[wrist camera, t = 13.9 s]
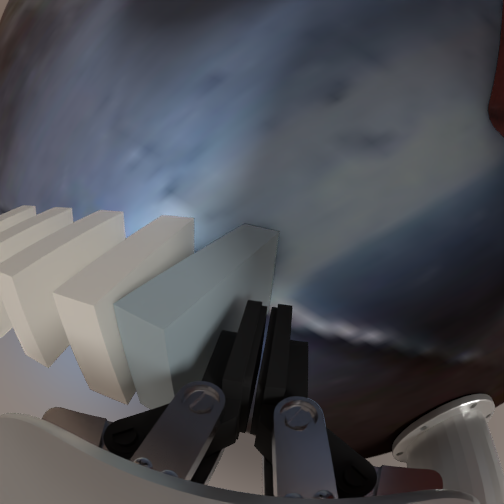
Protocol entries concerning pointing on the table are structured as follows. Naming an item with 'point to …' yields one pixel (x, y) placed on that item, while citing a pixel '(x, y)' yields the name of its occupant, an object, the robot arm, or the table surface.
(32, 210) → the domino
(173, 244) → the domino
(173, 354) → the domino
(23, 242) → the domino
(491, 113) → the plant pot
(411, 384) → the table surface
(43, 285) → the domino
